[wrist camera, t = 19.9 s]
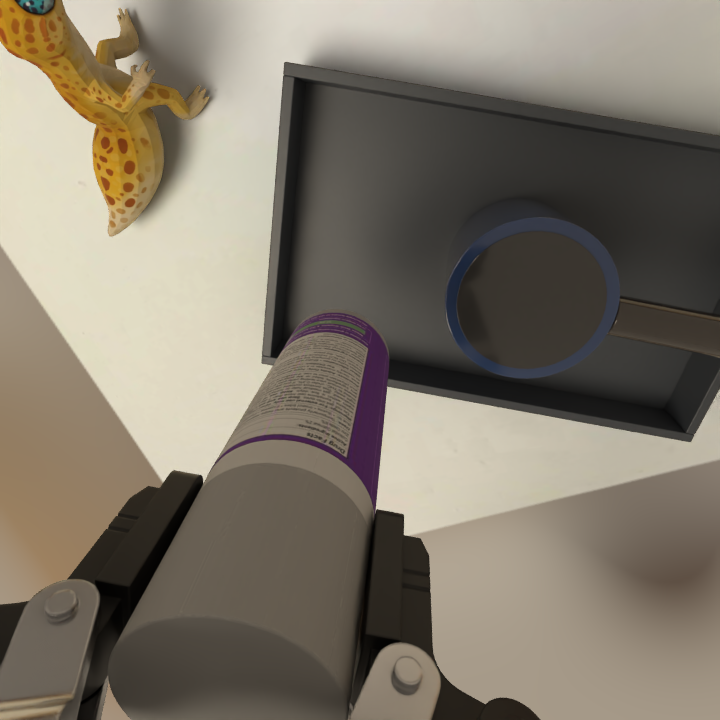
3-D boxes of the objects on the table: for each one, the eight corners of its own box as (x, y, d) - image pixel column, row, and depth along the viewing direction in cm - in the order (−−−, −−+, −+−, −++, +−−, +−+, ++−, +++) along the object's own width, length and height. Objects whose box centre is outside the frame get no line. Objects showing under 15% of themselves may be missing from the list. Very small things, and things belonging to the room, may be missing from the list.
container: (381, 409, 23) (339, 792, 10) (284, 393, 23) (111, 749, 10) (397, 317, 21) (373, 638, 8) (291, 300, 21) (85, 587, 8)
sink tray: (663, 412, 35) (690, 442, 32) (275, 341, 36) (261, 363, 32) (791, 154, 28) (845, 157, 24) (299, 69, 28) (284, 61, 25)
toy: (216, -52, 24) (44, -35, 17) (220, 222, 35) (116, 298, 28) (103, -92, 25) (-102, -91, 18) (142, 187, 36) (24, 253, 29)
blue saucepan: (726, 234, 28) (821, 267, 21) (666, 359, 31) (730, 426, 24) (463, 186, 29) (466, 202, 22) (434, 311, 33) (428, 361, 25)
